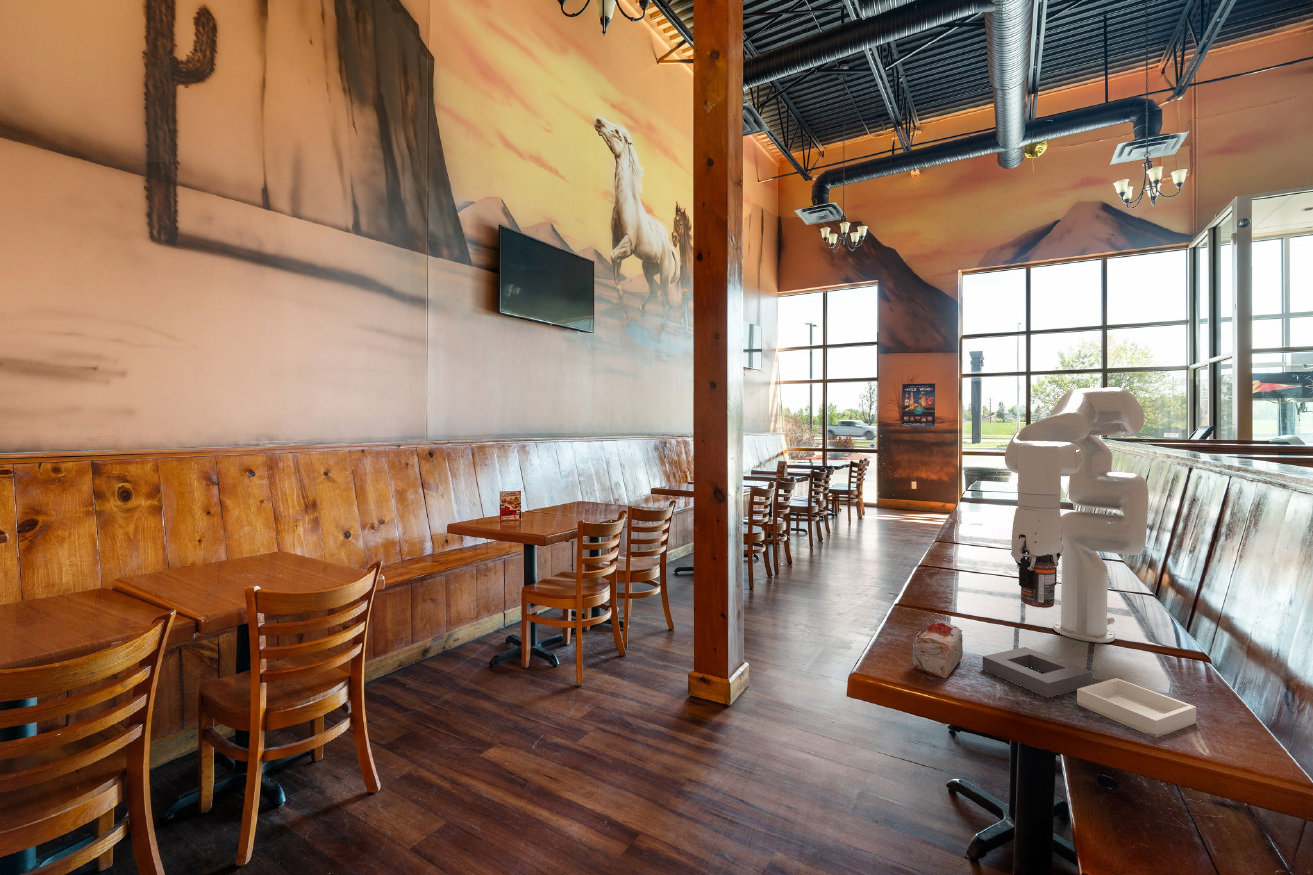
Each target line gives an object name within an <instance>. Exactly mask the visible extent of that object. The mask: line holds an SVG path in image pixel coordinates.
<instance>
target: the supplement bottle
mask: <svg viewBox="0 0 1313 875" xmlns="http://www.w3.org/2000/svg"><path fill="white" fill-rule="evenodd" d="M1026 554H1029V552H1026ZM1025 558H1026V560H1027V561H1028V562H1029V559H1030V558H1027V557H1025ZM1049 559H1050V554H1047V555H1044V556H1040V557H1036V561H1035V565H1034V569H1033V570H1035V571H1036V588H1035V589H1033V590H1032V589H1028V588H1025V587H1021V586H1020V600H1021V602H1022V603H1024V604H1025V605H1027V606H1031V607H1034V608H1041V609H1049V608H1053V607H1054V606H1055V591H1056V587H1055V586H1056V585H1055V566H1054V564H1053V563H1051V562H1050V560H1049Z"/></svg>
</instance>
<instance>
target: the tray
mask: <svg viewBox="0 0 1313 875" xmlns="http://www.w3.org/2000/svg"><path fill="white" fill-rule="evenodd" d="M1077 704H1078V706H1080V707H1082V708H1085V709H1087V710H1090V711H1091V712H1094V713H1096V714H1099V715H1101V716H1104V717H1106V718H1108V719H1110V720H1113V721H1115V722H1118V723H1120V724H1123V725H1124V726H1127V727H1129V728H1132V729H1134V730H1136V731H1138V732H1141V733H1144V734H1146V735H1148V736H1150V737H1152V738H1155V739H1156V738H1160V737H1162V736H1165V735H1167V734H1170V733H1173V732H1176V731H1178V730H1181V729H1183V728H1186V727H1189V726H1190V727H1191V726H1192V725H1195V724H1197V706H1195V705H1192V704H1189V703H1187V702H1184V701H1181V700H1179V699H1176V698H1173V697H1170V696H1168V695H1165V694H1163V693H1159V692H1157V691H1154V690H1151V689H1148V688H1146V687H1143V686H1140V685H1137V684H1135V683H1131V682H1129V681H1127V680H1123V679H1120V678H1117V677H1116V678H1111V679H1108V680H1104V681H1100V682H1098V683H1097V682H1096V683H1094V684H1093V683H1092V685H1090V686H1086V687H1083V688H1079V689H1077V690H1076V705H1077Z"/></svg>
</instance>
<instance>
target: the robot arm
mask: <svg viewBox="0 0 1313 875" xmlns="http://www.w3.org/2000/svg"><path fill="white" fill-rule="evenodd" d="M1142 407H1143V406H1142V405H1141V404H1140V402H1139V401H1138V400H1137V399H1136V397H1135V396H1134V395H1133V394H1132V393H1131V392H1130V391H1128V390H1127V389H1124V388H1121V387H1104V388H1103V387H1100V388H1099V387H1098V388H1095V387H1094V388H1078V389H1073V390H1072V389H1071V390H1070V391H1067V392H1066V393H1064V394H1063V395H1062V396H1061V397H1060V399H1059V400H1058V401H1057V403H1056V405H1055V406H1054V408H1053V410H1052V412H1051V413H1050V415H1049V416H1047V417H1044V418H1041V419H1039V420H1037V421H1034V422H1031V423H1030V424H1027V425H1025V426H1023V427H1021V428H1019V429H1018V430H1017V431H1016V432H1015V433H1014V434H1013V435H1012V438H1011V439H1010V441H1009V442H1008V444H1007V447H1006V449H1005V453H1004V463H1005V465H1006V467H1007V469H1008V470H1010V471H1011V472H1012V473H1015V474H1017V507H1016V509H1015V511H1014V515H1013V516H1014V517H1013V521H1012V530H1011V552H1010V555H1011V556H1012V558H1013V560H1014V562H1015V563H1016V567H1017V568H1018V586H1019V587H1020V588H1021V587H1025V588H1028V589H1032V590H1033V589H1035V588H1036V571H1035V570H1033V569H1034V565H1035V561H1036V557H1040V556H1044V555H1047V554H1050V559H1049V560H1050V562H1051V563H1053V564H1054V566H1055V586H1057V585H1058V584H1057V582H1058V581H1057V580H1058V579H1057V574H1058V573H1057V572H1058V570H1057V569H1058V568H1057V567H1058V566H1059V560H1060V558H1061V578H1060V579H1061V582H1060V583H1061V584H1060V586H1061V588H1060V590H1061V592H1060V621H1056V622H1055V623H1053V627H1052V628H1053V630H1054V631H1055V632H1056V633H1058V634H1059V633H1060V635H1062V636H1064V637H1068V638H1070V639H1073V640H1078V641H1083V642H1088V643H1089V642H1090V643H1098V644H1099V643H1100V644H1101V643H1102V644H1104V643H1107V644H1108V643H1111V642H1114V641H1115V634H1114V633H1113V631H1111V630H1110V629H1109V630H1108V626H1109V625H1112V624H1115V622H1116V621H1115V618H1114V617H1113V616H1112V615H1111V616H1110V615H1108V591H1109V590H1108V588H1109V585H1108V584H1109V569H1108V567H1107V564H1106V563H1105V561H1104V560H1103V559H1102V558H1101V557H1100V555H1099V554H1098V553H1097V552H1103V553H1109V554H1118V555H1124V556H1125V555H1126V556H1138V555H1140V554H1142V553H1143V551H1144V550H1145V547H1146V542H1147V532H1148V531H1147V529H1148V514H1149V500H1150V499H1149V498H1150V497H1149V495H1150V494H1149V486H1148V483H1147V481H1146V479H1145V478H1144V477H1143V476H1141V475H1140V474H1136V473H1132V472H1116V471H1115V472H1114V471H1113V470H1112V468H1113V467H1112V465H1113V453H1112V450H1110V448H1109V447H1108V445H1106V444H1105V443H1104V442H1103V441H1102V440H1101V439H1100V438H1099V437H1097V436H1134V435H1137V434H1138V433H1140V432H1141V430H1142V429H1143V426H1144V423H1145V413H1144V412H1145V411H1144V410H1143V408H1142ZM1062 477H1069V481H1068V498H1069V501H1071V502H1072V504H1074V505H1076V506H1079V507H1084V508H1091V509H1101V510H1111V511H1113V510H1114V511H1120V512H1121V513H1123V514H1122V515H1118V514H1108V513H1101V512H1098V513H1097V512H1089V511H1069V512H1066V513H1064V514H1062V515H1061V502H1062V501H1061V499H1062V498H1061V495H1062V489H1061V488H1062V482H1061V481H1062ZM1027 552H1029V554H1027ZM1026 558H1030V559H1029V562H1028V561H1027V560H1026Z"/></svg>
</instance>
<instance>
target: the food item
mask: <svg viewBox="0 0 1313 875" xmlns="http://www.w3.org/2000/svg"><path fill="white" fill-rule="evenodd" d="M926 626H927V629H926V630H925V631H924V632H923V633H922V634H921V632H922V631H921V630H920V631H919V632H918V633H917V634H916V636H915V638H914V640H913V642H912V663H913V665H914V667H915V668H917V669H918V670H920V671H922V672H924V673H927V674H929V675H932V676H934V677H938V678H942V679H947V678H948V677H949V676H950V674H951V673H952V672H953V670H954V669H955V667H957V665H958V664H959V663H960V661H961V660H962V658H963V654H964V653H963V652H964V651H963V633H962V632H963V630H962V629H961V628H959V627H958V626H956V625H953V624H952V623H948V622H934V623H930V621H926Z"/></svg>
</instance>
